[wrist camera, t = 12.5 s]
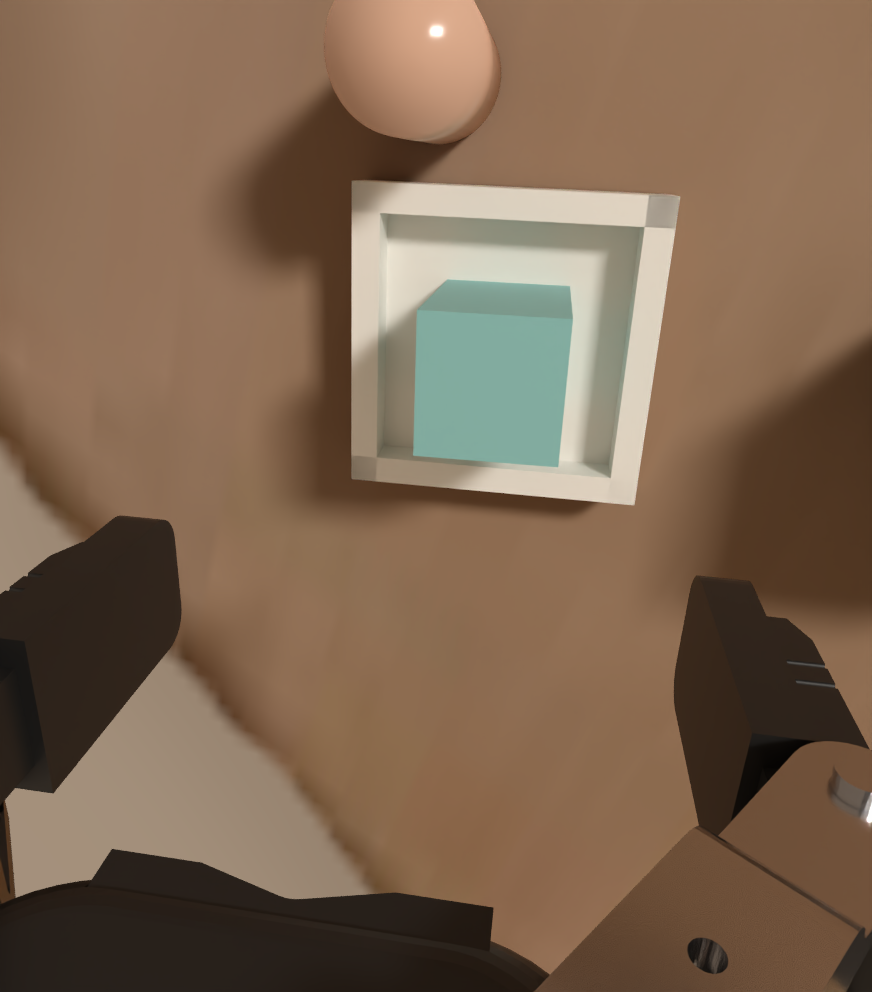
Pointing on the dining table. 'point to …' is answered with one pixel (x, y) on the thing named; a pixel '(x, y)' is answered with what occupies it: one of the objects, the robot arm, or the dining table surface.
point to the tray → (511, 259)
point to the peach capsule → (413, 66)
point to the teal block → (492, 372)
